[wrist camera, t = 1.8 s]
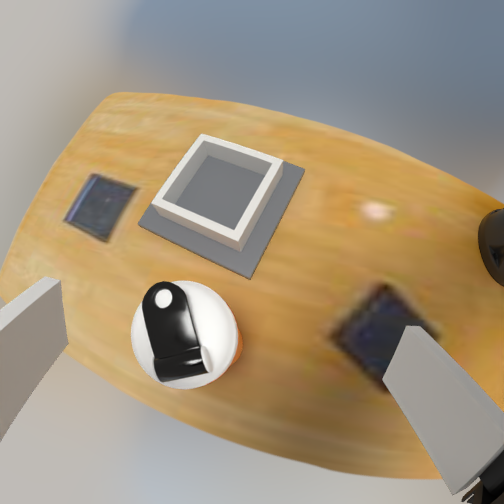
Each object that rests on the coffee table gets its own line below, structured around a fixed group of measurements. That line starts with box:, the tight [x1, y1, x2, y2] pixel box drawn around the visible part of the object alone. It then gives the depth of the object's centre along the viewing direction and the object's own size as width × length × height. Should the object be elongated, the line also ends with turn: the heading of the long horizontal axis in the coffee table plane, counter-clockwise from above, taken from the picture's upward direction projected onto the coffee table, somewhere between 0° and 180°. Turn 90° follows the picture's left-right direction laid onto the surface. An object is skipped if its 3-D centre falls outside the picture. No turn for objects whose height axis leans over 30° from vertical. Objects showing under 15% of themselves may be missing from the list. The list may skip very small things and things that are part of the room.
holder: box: [138, 134, 305, 280], centre depth 43 cm, size 20×20×5 cm
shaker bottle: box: [131, 281, 243, 389], centre depth 29 cm, size 9×9×20 cm
